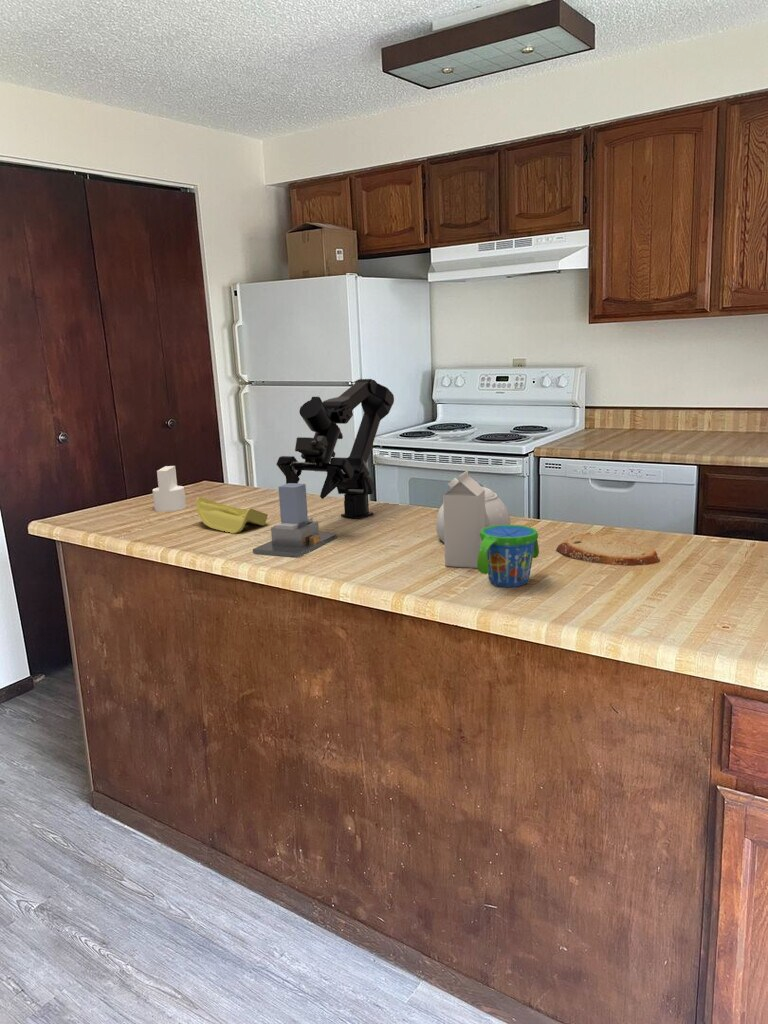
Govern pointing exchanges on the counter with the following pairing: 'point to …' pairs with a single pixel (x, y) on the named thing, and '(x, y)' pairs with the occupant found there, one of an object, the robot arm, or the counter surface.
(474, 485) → the milk carton
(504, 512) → the teapot
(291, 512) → the grey tall block
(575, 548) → the slice of bread
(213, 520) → the plastic component
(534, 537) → the snack cup
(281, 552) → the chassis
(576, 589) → the counter surface
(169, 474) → the cylinder with rectangular tab
